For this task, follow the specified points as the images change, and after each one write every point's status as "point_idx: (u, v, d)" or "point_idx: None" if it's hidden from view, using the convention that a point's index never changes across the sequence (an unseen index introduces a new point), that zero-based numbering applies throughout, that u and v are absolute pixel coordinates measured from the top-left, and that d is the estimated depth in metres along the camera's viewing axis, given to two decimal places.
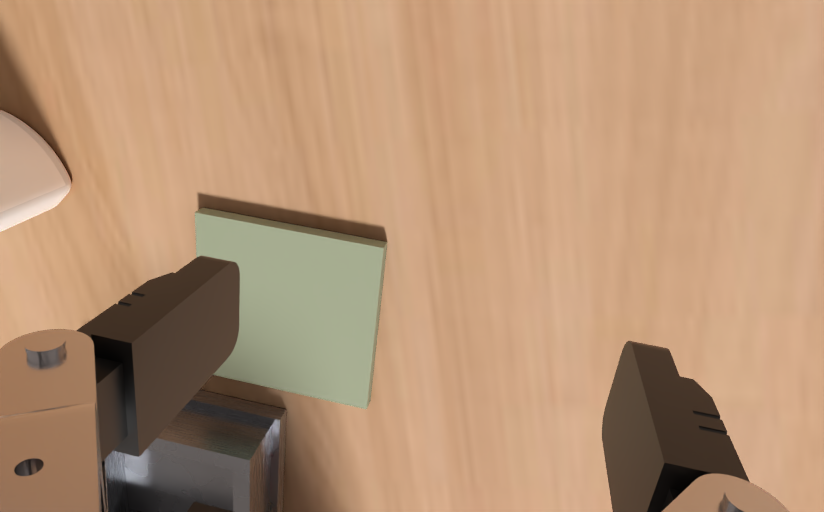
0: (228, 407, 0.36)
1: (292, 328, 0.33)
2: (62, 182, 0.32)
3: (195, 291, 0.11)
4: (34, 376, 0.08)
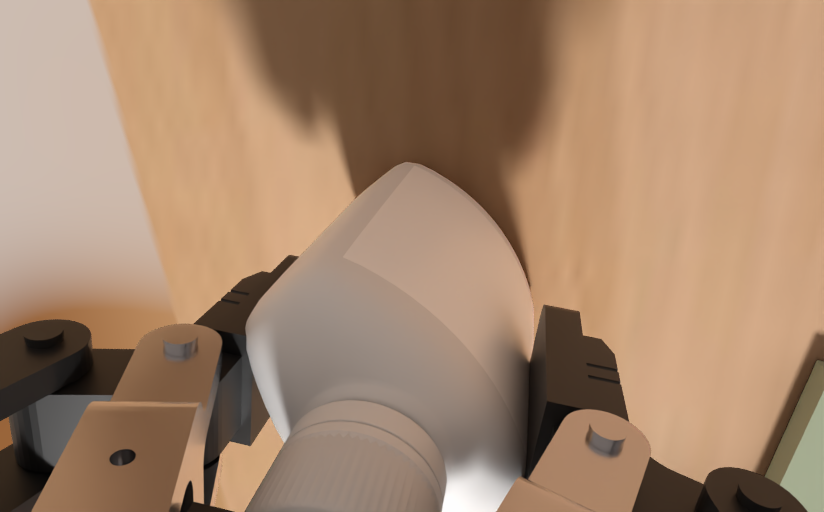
0: None
1: None
2: (532, 308, 0.16)
3: None
4: (178, 368, 0.09)
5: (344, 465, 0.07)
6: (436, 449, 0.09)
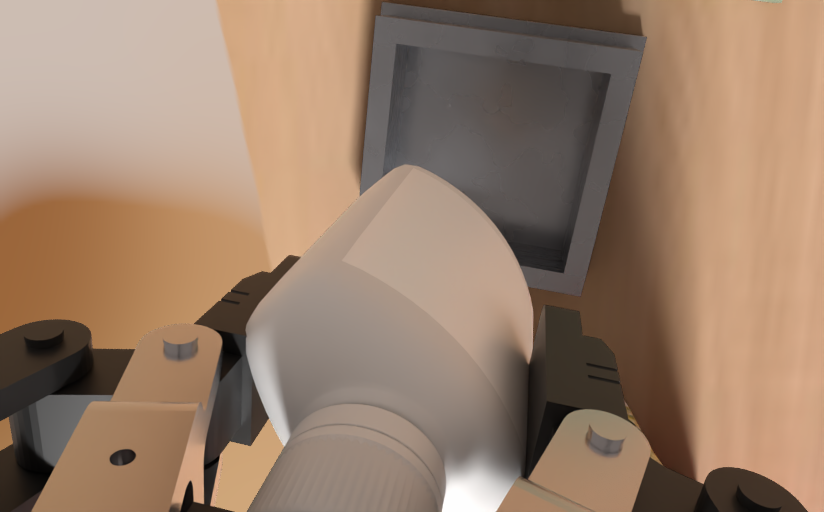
0: (572, 27, 0.27)
1: None
2: (532, 310, 0.16)
3: None
4: (178, 368, 0.09)
5: (343, 469, 0.07)
6: (435, 452, 0.09)
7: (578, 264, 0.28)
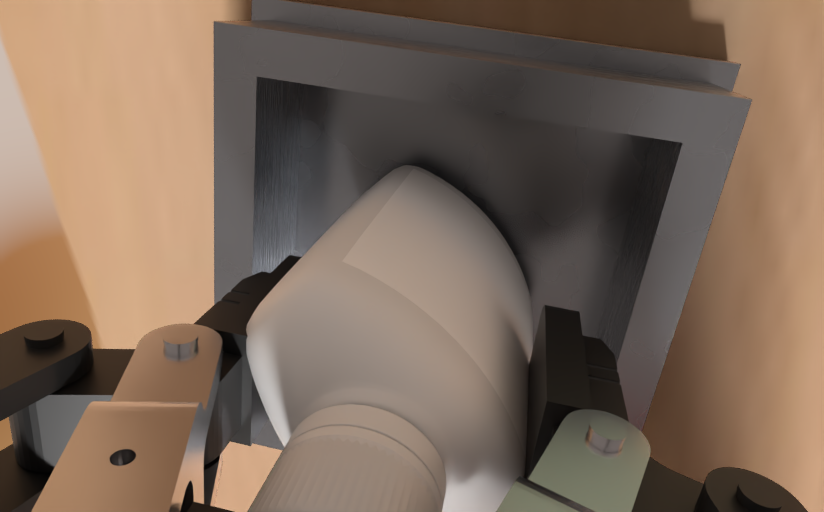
0: (598, 44, 0.15)
1: None
2: (532, 310, 0.16)
3: None
4: (178, 368, 0.09)
5: (344, 469, 0.07)
6: (436, 453, 0.09)
7: None
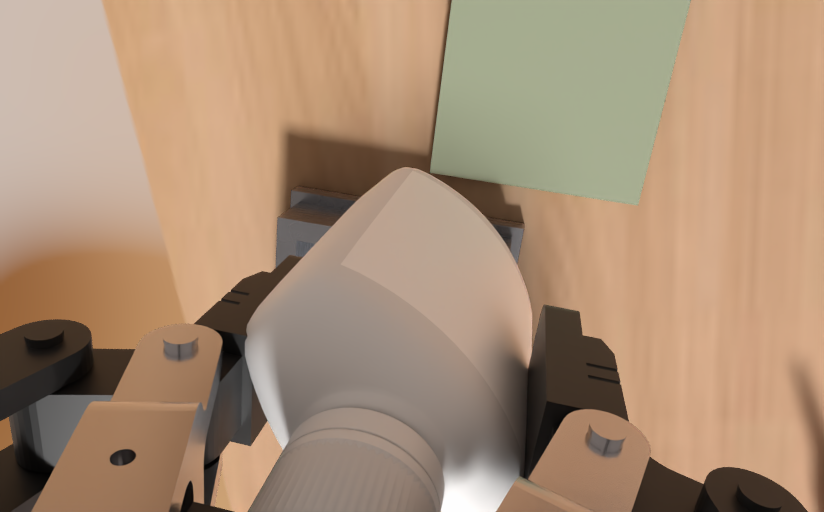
0: None
1: (558, 99, 0.28)
2: (530, 312, 0.16)
3: None
4: (178, 368, 0.09)
5: (342, 473, 0.07)
6: (434, 456, 0.09)
7: None
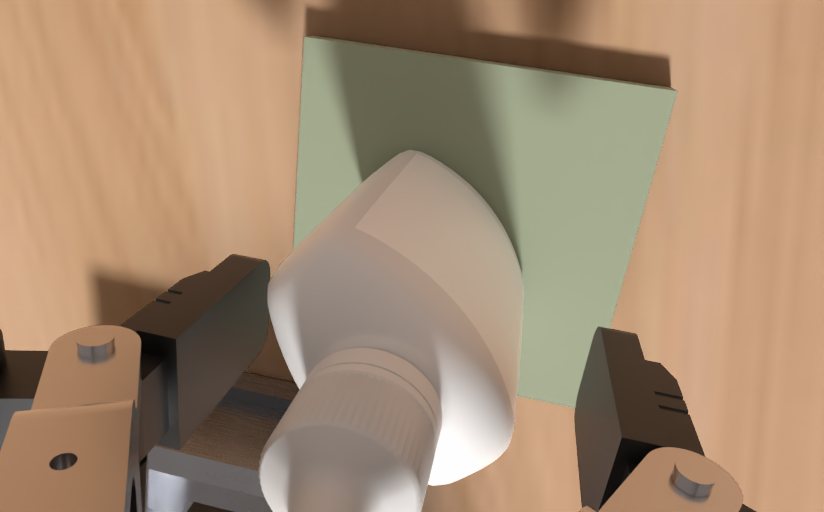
0: None
1: None
2: (523, 287, 0.17)
3: (231, 289, 0.11)
4: (88, 370, 0.08)
5: (357, 395, 0.09)
6: (434, 391, 0.10)
7: None
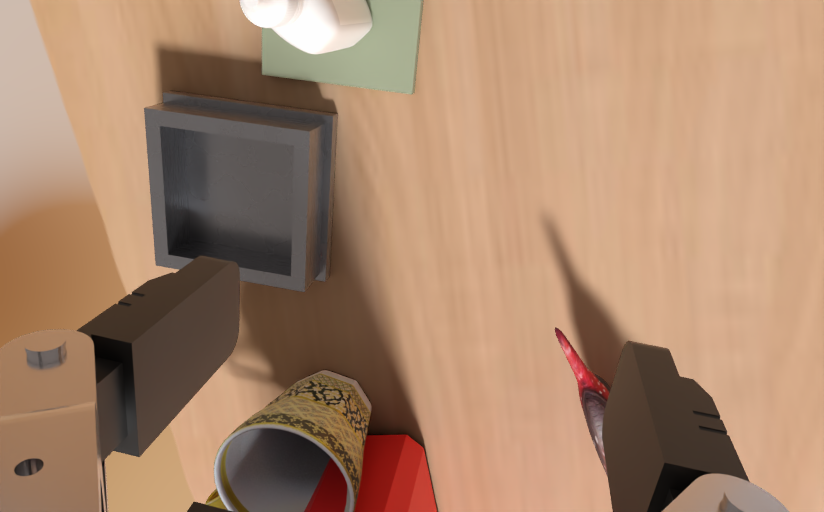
0: (286, 109, 0.40)
1: None
2: (370, 18, 0.37)
3: (195, 291, 0.11)
4: (34, 376, 0.08)
5: None
6: None
7: (299, 270, 0.41)
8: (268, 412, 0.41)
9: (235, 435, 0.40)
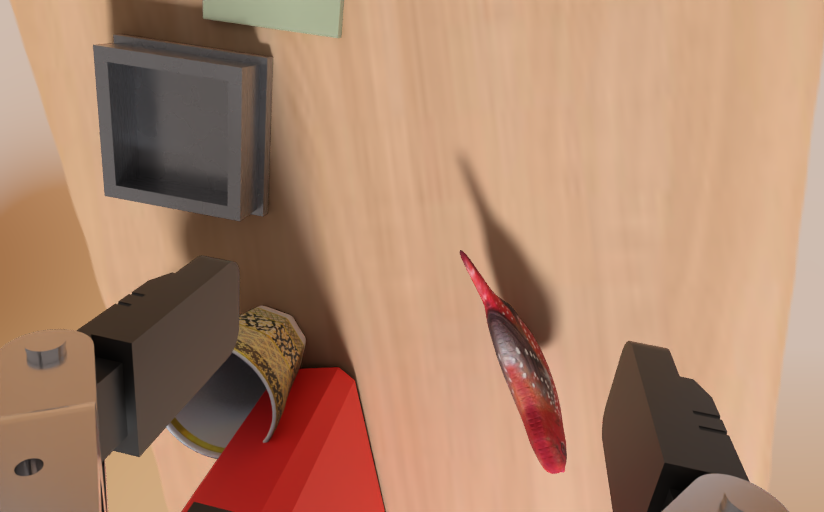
0: (225, 51, 0.44)
1: None
2: None
3: (195, 291, 0.11)
4: (34, 376, 0.08)
5: None
6: None
7: (234, 200, 0.45)
8: None
9: None
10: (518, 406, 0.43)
